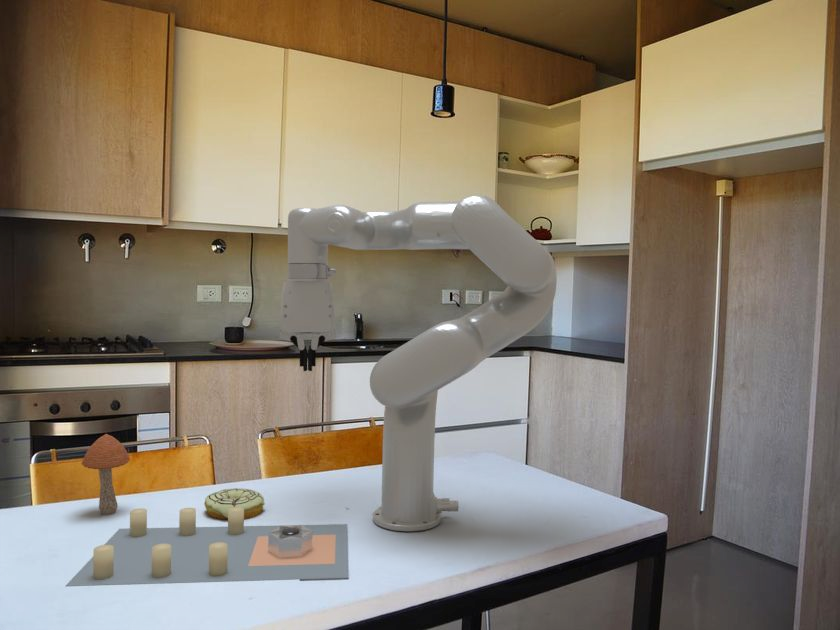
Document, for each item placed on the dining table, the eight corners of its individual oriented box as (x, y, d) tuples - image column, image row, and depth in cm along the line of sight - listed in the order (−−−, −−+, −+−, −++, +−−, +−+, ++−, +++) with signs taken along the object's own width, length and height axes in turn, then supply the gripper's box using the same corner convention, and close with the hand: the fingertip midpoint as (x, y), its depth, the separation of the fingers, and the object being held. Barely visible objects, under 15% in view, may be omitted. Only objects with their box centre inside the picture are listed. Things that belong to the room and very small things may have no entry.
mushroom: (81, 524, 113) (81, 439, 113) (81, 510, 120) (81, 430, 120) (130, 518, 117) (131, 436, 116) (128, 505, 124) (128, 427, 123)
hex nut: (311, 542, 107) (311, 523, 107) (312, 556, 101) (313, 537, 101) (268, 544, 106) (269, 525, 106) (267, 559, 100) (267, 539, 100)
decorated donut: (230, 528, 114) (230, 507, 114) (192, 514, 120) (193, 494, 120) (275, 512, 122) (275, 492, 122) (238, 500, 129) (238, 481, 128)
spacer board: (347, 525, 116) (347, 502, 116) (348, 578, 94) (348, 550, 94) (119, 529, 111) (119, 505, 111) (65, 587, 89) (65, 557, 89)
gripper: (345, 275, 128) (345, 367, 128) (268, 274, 125) (268, 368, 125) (348, 274, 120) (348, 372, 121) (266, 273, 118) (266, 373, 118)
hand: (307, 370), depth 123 cm, fingers closed
